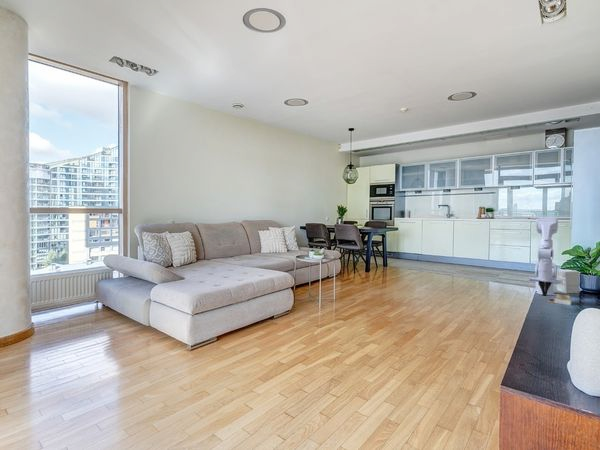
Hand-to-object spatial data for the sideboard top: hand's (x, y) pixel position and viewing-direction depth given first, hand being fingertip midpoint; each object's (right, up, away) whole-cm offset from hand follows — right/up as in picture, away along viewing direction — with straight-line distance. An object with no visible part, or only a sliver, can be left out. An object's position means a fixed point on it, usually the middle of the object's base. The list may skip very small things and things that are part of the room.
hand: (544, 295), depth 166 cm
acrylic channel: (+6, -2, -5) cm, 8 cm away
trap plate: (+2, -2, -2) cm, 4 cm away
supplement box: (+26, -1, +15) cm, 30 cm away
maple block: (+6, -3, -5) cm, 8 cm away
